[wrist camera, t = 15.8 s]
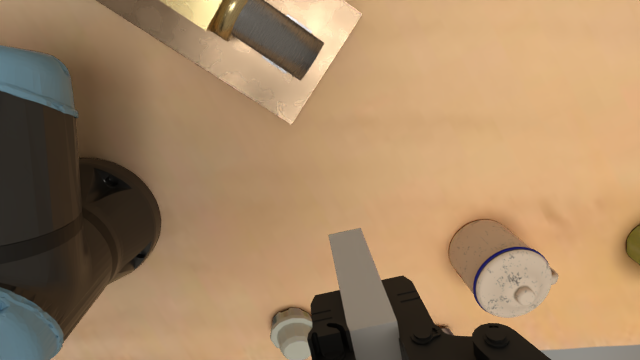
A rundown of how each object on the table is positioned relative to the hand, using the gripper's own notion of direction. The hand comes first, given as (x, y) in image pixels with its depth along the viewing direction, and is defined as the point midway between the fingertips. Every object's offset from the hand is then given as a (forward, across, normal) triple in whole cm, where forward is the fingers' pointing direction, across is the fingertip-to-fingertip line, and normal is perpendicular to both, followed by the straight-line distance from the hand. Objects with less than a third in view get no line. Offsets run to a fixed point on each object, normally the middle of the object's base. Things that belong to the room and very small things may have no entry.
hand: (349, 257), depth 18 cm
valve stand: (+30, -8, +17) cm, 36 cm away
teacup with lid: (+31, +20, -21) cm, 42 cm away
